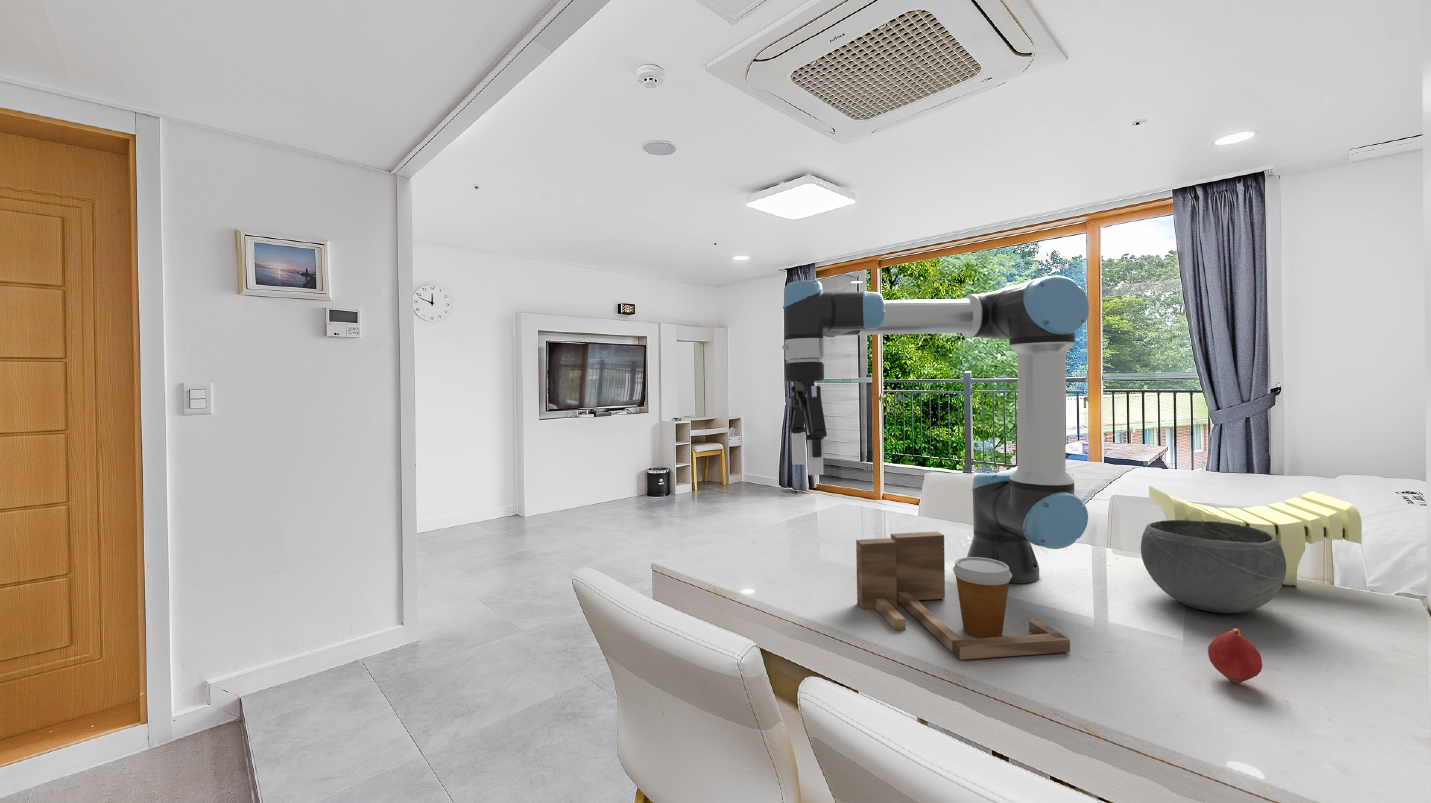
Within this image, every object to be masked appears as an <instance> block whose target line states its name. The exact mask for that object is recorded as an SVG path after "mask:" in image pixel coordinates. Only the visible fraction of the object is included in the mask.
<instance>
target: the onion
mask: <svg viewBox="0 0 1431 803" xmlns="http://www.w3.org/2000/svg"><path fill="white" fill-rule="evenodd" d="M1207 655H1208V658H1209V662H1210V663H1211V664H1212V666H1213V668H1215V669H1216V670H1217V671H1218V672H1219V673H1220V674H1222V675H1223V677H1225V678H1227V680H1229V682H1231V683H1233V684H1237V685H1238V684H1242V683H1244V682H1246V681H1248V680H1251V679H1253V678H1256V677H1257V676H1258V675H1259V674H1260V673H1261V672H1262V668H1263V658H1262V656H1261V653H1260V651H1259V650H1258V648H1257V647H1256V646H1255V645H1254V644H1253V643H1252V642H1251V641H1250V640H1249V639H1247V638H1246V637H1244V636H1243V635H1242V634H1241V631H1240V629H1238V628H1232V630H1230V631H1227V632H1224V633H1222V634H1219V635H1217V636H1216V637H1215V638H1214V639H1213V640H1211V642H1210V643H1209V644H1208V647H1207Z"/></svg>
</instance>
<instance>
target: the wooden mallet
mask: <svg viewBox="0 0 1431 803" xmlns="http://www.w3.org/2000/svg"><path fill="white" fill-rule="evenodd" d="M855 546H856V548H855V549H856V550H855V552H856V557H855V559H856V603H857V605H858V606H859V607H860V609H862V610H872V609H873V610H874V609H875V610H876V611H877V612H878V613H879V614H880V616H882V618H884V620H885V621H886V622H887V623H888V624H889V625H890V626H891V628H893V630H895V631H905V630H906V618H905V617H904V616H903V615H902V614H901V613H900V611H898V610H897V609H896V608H898V604H897V592H896V542H895V541H893V540H892V539H891V537H885V538H867V539H856V540H855Z"/></svg>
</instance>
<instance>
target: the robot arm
mask: <svg viewBox="0 0 1431 803" xmlns="http://www.w3.org/2000/svg"><path fill="white" fill-rule="evenodd" d="M782 308H783V324H784V344H782V346H781V348H782V350H783V351H784V350H785V351H784V356H785V357H784V359H785V360H786V361H788V362H787V363H786V364H785V365H784V366H785V368H784V369H785V371H784V372H785V381H786V382H789V383H795V385H792V386H791V388H790V392H791V397H790V408H789V420H788V421H789V422H788V429H789V430H790V433H791V462H792V463H791V464H792V465H793V466H795V465H796V466H797V465H806V464H807V470H808V472H807V474H808V476H820V475H821V476H823V475H824V438H826V437H827V429H826V422H825V416H824V410H823V409H824V408H823V402H822V394H821V393H822V392H821V386H820V385H815V384H816V383H815V382H822V381H824V379H825V364H824V362H822V360H823V359H825V348H824V347H825V346H824V345H825V344H824V341H825V340H824V339H825V338H835V337H837V336H838V337H839V336H840V337H841V336H864V335H865V336H870V335H872V336H873V335H874V336H875V335H879V336H880V335H916V334H917V335H918V334H919V335H922V334H924V335H925V334H926V335H928V334H930V335H931V334H961V335H962V336H964V337H966V338H985V339H986V338H988V339H999V340H1009V342H1008V345H1009V348H1010V349H1011V351H1013V352H1015V353H1016V356H1017V397H1016V398H1017V399H1016V400H1017V406H1016V407H1017V408H1016V409H1017V410H1016V411H1017V416H1016V417H1017V426H1016V427H1017V433H1016V434H1017V436H1016V438H1017V448H1016V450H1017V453H1016V454H1017V455H1016V460H1017V461H1016V464H1017V468H1016V470H1015V471H1014V472H991V473H990V472H989V473H985V472H984V473H979V474H976V475H975V476H974V477H973V479H972V488H971V492H972V508H973V509H972V514H973V515H972V516H973V518H972V520H973V523H972V524H973V526H972V527H973V537H972V541H971V543H970V546H969V548H968V552H967V554H966V557H980V558H988V559H994V560H997V561H1000V562H1003V563H1005V564H1006V565H1008V567H1009V570H1010V572H1011V574H1012V578H1011V579H1010V581H1009V584H1026V583H1027V584H1028V583H1032V582H1036V581H1038V580H1039V579H1040V566H1039V563H1038V560H1037V557H1036V554H1035V552H1034V549H1033V546H1032V545H1035V546H1036V547H1037V546H1038V547H1042V548H1046V549H1048V550H1060V549H1065V548H1068V547H1070V546H1072V545H1073V544H1075V543H1076V541H1077V540H1078V539H1080V538H1081V537H1082V536H1083V534H1084V533H1085V532H1086V529H1087V526H1088V522H1089V512H1088V509H1087V507H1086V505H1085V503H1083V501H1082V499H1081V498H1079V497H1078V496H1077V495H1075V480H1074V478H1072V476H1070V475H1069V474H1068V473H1067V471H1066V467H1067V466H1066V455H1067V454H1066V452H1067V451H1066V446H1067V444H1066V440H1067V438H1066V435H1067V433H1066V430H1067V428H1066V427H1067V426H1066V425H1067V420H1066V419H1067V416H1066V415H1067V413H1066V412H1067V402H1066V400H1067V399H1066V398H1067V353H1068V351H1069V350H1070V349H1071V348H1073V347H1074V346H1075V345H1076V332H1077V331H1078V330H1079V329H1080V328H1082V327H1083V324H1084V323H1086V321H1087V319H1088V317H1089V313H1090V303H1089V299H1088V296H1087V294H1086V291H1085V290H1084V288H1082V287H1081V286H1080V285H1078V283H1077V282H1076V281H1075V280H1073V279H1071V278H1068V277H1066V276H1062V275H1049V276H1043V277H1042V276H1041V277H1037V278H1035V279H1031V280H1029V281H1027V282H1023V283H1019V284H1015V285H1012V286H1007V287H1004V288H1001V289H998V290H995V291H990V292H985V293H977V294H975V293H973V294H967V295H965V297H963V298H955V299H953V298H952V299H951V298H949V299H944V298H943V299H894V300H892V299H890V300H887V299H884V297H883V295H882V294H881V293H880V292H877V291H866V290H863V291H842V292H841V291H837V292H832V291H831V292H830V291H824V288H823V284H822V283H821V281H818V280H809V279H807V280H795V281H792V282H789V283H787V284H786V285H785V286H784V289H783V306H782ZM824 337H825V338H824ZM805 425H806V427H805ZM806 433H808V434H806ZM806 441H807V462H806Z"/></svg>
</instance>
